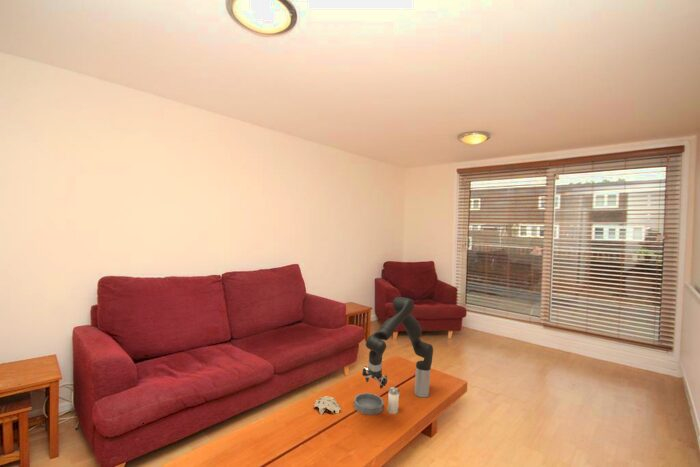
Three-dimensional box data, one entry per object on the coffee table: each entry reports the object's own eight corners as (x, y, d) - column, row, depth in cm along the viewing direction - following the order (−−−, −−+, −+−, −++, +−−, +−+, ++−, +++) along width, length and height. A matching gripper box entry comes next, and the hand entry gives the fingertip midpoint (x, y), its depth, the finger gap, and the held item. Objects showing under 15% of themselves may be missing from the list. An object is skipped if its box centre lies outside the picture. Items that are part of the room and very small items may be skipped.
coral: (342, 411, 187) (342, 402, 187) (324, 418, 180) (324, 409, 179) (327, 399, 199) (327, 390, 199) (310, 405, 192) (310, 396, 192)
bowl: (364, 395, 206) (365, 390, 206) (388, 406, 195) (388, 400, 195) (348, 406, 192) (348, 400, 192) (372, 418, 182) (372, 412, 182)
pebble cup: (390, 406, 195) (392, 383, 195) (400, 410, 191) (401, 387, 191) (385, 410, 190) (386, 387, 190) (394, 415, 186) (396, 391, 186)
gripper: (389, 365, 179) (388, 384, 187) (366, 355, 185) (366, 373, 194) (384, 376, 174) (383, 395, 182) (360, 365, 180) (360, 383, 188)
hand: (374, 384), depth 188 cm, fingers open, 8 cm apart
